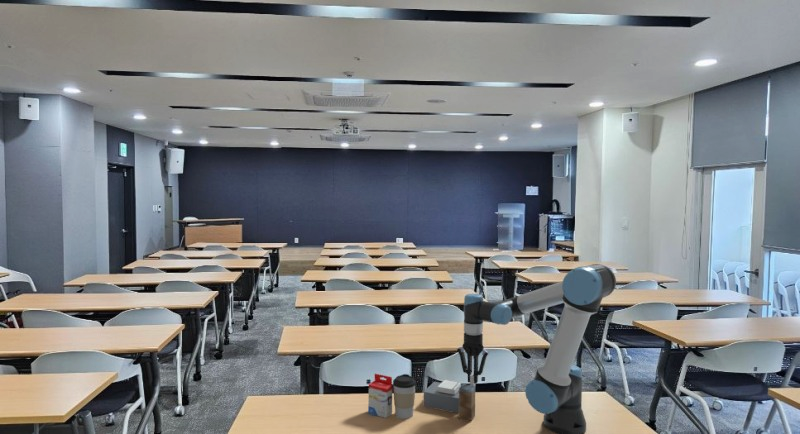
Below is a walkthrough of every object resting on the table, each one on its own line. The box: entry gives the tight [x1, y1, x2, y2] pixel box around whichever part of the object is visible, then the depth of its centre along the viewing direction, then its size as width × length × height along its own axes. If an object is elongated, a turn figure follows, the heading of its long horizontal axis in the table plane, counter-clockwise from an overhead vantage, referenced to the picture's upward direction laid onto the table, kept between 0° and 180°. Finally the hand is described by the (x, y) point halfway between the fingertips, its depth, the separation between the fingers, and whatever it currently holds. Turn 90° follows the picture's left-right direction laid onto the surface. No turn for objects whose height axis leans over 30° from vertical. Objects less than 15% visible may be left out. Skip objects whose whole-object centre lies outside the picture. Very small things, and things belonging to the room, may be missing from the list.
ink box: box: [367, 373, 394, 419], centre depth 182 cm, size 8×5×15 cm, turn 62°
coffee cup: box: [392, 373, 417, 420], centre depth 181 cm, size 9×9×15 cm
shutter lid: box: [438, 379, 462, 395], centre depth 190 cm, size 7×8×2 cm
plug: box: [458, 383, 476, 422], centre depth 179 cm, size 5×5×12 cm
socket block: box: [423, 381, 459, 414], centre depth 191 cm, size 15×12×6 cm
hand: (472, 390), depth 186 cm, fingers closed
